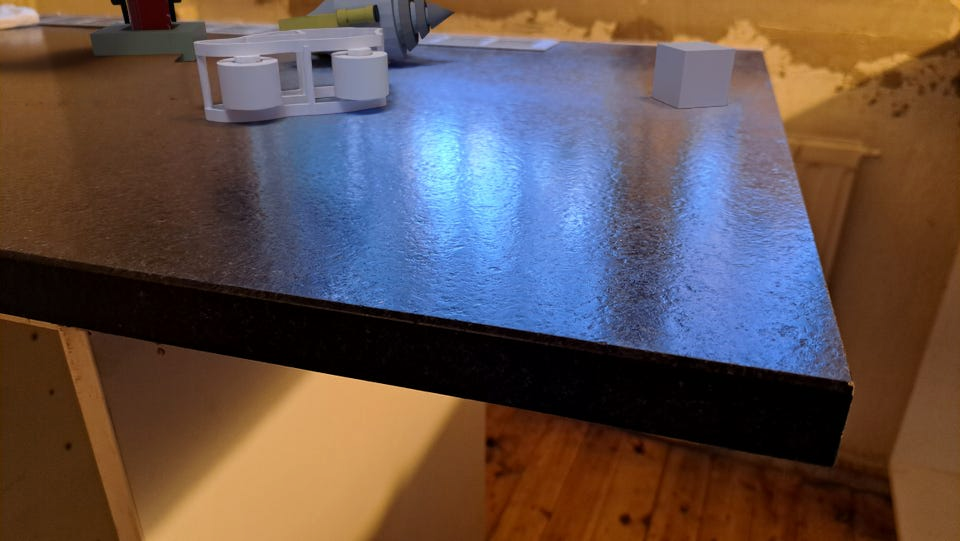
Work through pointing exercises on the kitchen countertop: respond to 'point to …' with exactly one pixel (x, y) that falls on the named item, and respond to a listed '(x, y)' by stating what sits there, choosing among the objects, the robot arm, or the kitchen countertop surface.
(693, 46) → the gray cube
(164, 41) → the holder
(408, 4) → the ray gun
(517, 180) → the kitchen countertop surface
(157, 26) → the soda can
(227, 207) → the kitchen countertop surface
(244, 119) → the wheeled car silhouette
